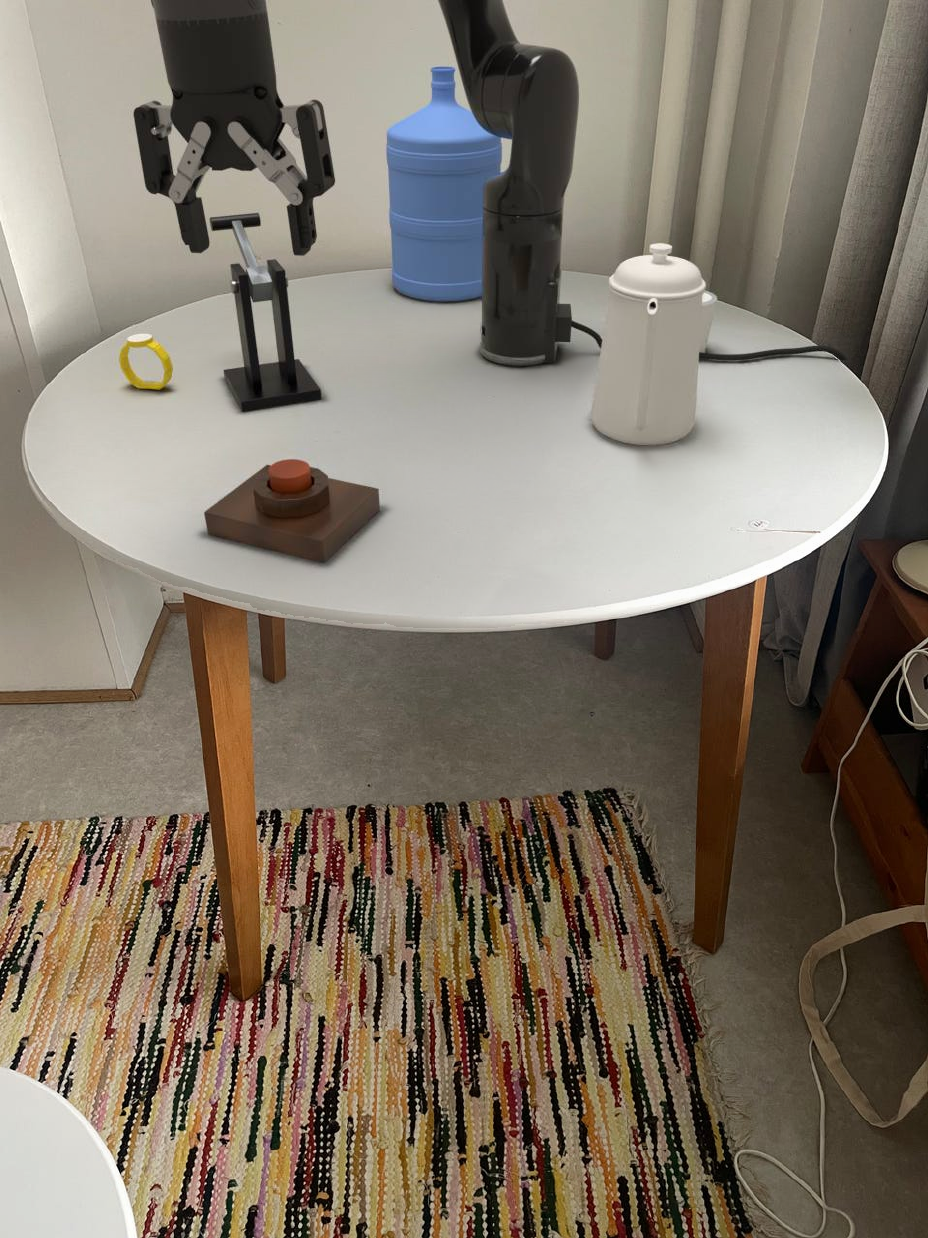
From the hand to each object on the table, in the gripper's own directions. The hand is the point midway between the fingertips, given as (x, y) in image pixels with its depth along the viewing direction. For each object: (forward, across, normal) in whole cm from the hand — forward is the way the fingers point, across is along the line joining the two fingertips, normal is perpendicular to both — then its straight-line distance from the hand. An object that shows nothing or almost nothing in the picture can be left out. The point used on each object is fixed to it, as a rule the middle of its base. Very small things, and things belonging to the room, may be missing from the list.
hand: (250, 251), depth 78 cm
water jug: (+25, +2, -67) cm, 72 cm away
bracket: (+24, +13, -26) cm, 38 cm away
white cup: (+26, -33, -48) cm, 64 cm away
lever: (+11, +15, -31) cm, 36 cm away
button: (+20, -1, +2) cm, 20 cm away
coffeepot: (+25, -30, -25) cm, 46 cm away
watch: (+23, +26, -24) cm, 43 cm away
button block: (+23, -1, +2) cm, 23 cm away
